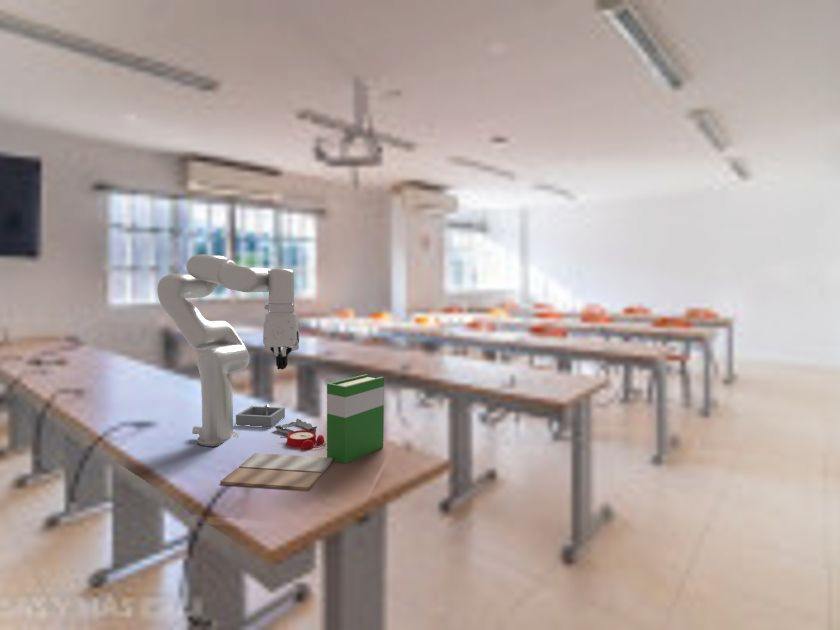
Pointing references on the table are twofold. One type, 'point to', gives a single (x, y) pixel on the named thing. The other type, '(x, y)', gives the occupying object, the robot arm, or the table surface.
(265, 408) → the bacteriophage
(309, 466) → the grey oak plank
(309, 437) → the alarm clock
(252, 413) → the grey tray
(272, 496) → the table surface
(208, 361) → the robot arm
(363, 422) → the hardback book
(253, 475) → the walnut plank
